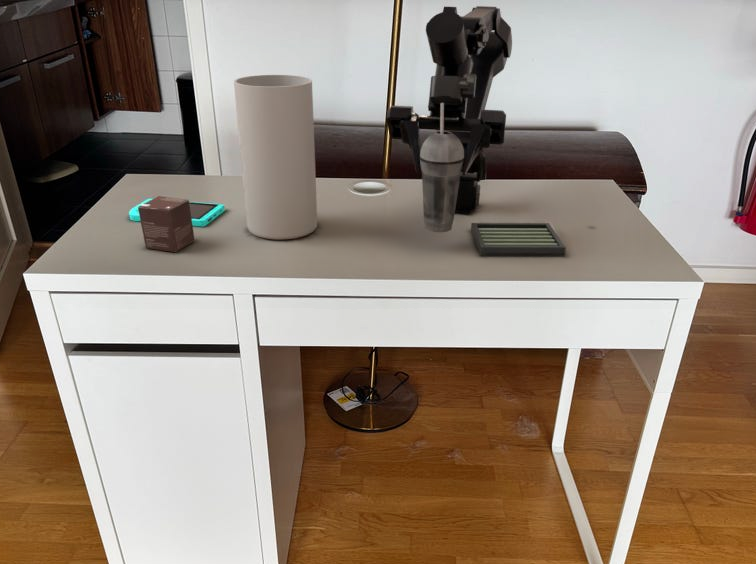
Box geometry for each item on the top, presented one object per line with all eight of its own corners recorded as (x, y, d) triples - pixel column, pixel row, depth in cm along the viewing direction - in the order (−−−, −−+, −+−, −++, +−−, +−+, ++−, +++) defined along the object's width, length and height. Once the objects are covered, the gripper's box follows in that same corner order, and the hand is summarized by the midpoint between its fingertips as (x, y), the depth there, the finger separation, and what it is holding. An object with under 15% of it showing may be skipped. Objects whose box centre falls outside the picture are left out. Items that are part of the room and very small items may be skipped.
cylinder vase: (330, 224, 126) (326, 78, 113) (291, 246, 116) (282, 89, 104) (275, 213, 131) (265, 72, 118) (233, 233, 121) (217, 82, 109)
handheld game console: (150, 203, 135) (149, 196, 134) (226, 209, 132) (225, 202, 132) (123, 220, 126) (122, 213, 126) (204, 227, 124) (203, 219, 123)
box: (195, 241, 118) (190, 199, 114) (175, 253, 113) (169, 210, 109) (165, 236, 119) (158, 195, 116) (144, 248, 114) (136, 205, 111)
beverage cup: (466, 224, 116) (475, 99, 105) (451, 238, 110) (459, 108, 100) (426, 217, 118) (431, 95, 108) (409, 231, 113) (413, 103, 102)
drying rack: (480, 256, 113) (481, 247, 112) (470, 231, 124) (471, 222, 123) (564, 256, 114) (565, 247, 113) (547, 231, 124) (549, 222, 123)
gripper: (389, 50, 105) (375, 140, 102) (512, 54, 102) (502, 147, 99) (396, 95, 116) (384, 178, 112) (508, 100, 113) (499, 185, 110)
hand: (440, 172), depth 108 cm, fingers closed on beverage cup, 7 cm apart
